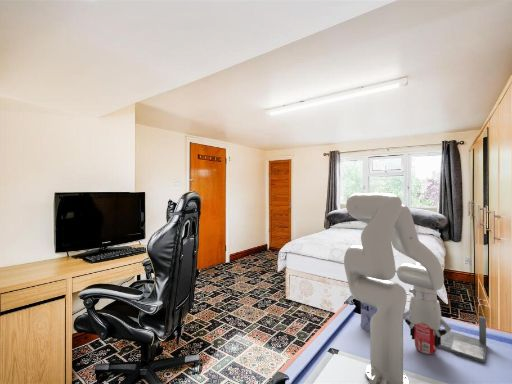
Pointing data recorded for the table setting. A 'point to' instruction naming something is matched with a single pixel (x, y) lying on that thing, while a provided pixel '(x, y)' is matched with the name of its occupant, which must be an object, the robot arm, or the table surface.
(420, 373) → the table surface
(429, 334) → the soda can
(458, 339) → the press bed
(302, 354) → the table surface
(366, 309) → the aerosol can
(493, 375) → the table surface
